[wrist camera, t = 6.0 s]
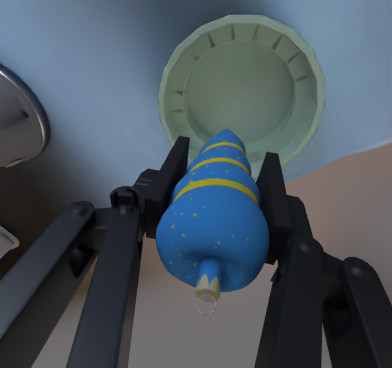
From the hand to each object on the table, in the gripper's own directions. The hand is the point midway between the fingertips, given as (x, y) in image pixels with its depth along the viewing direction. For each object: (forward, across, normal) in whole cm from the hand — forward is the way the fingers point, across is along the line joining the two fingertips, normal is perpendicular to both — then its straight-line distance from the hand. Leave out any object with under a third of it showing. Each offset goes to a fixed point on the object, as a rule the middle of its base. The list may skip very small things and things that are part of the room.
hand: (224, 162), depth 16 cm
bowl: (+15, 0, 0) cm, 15 cm away
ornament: (+5, 0, 0) cm, 5 cm away
